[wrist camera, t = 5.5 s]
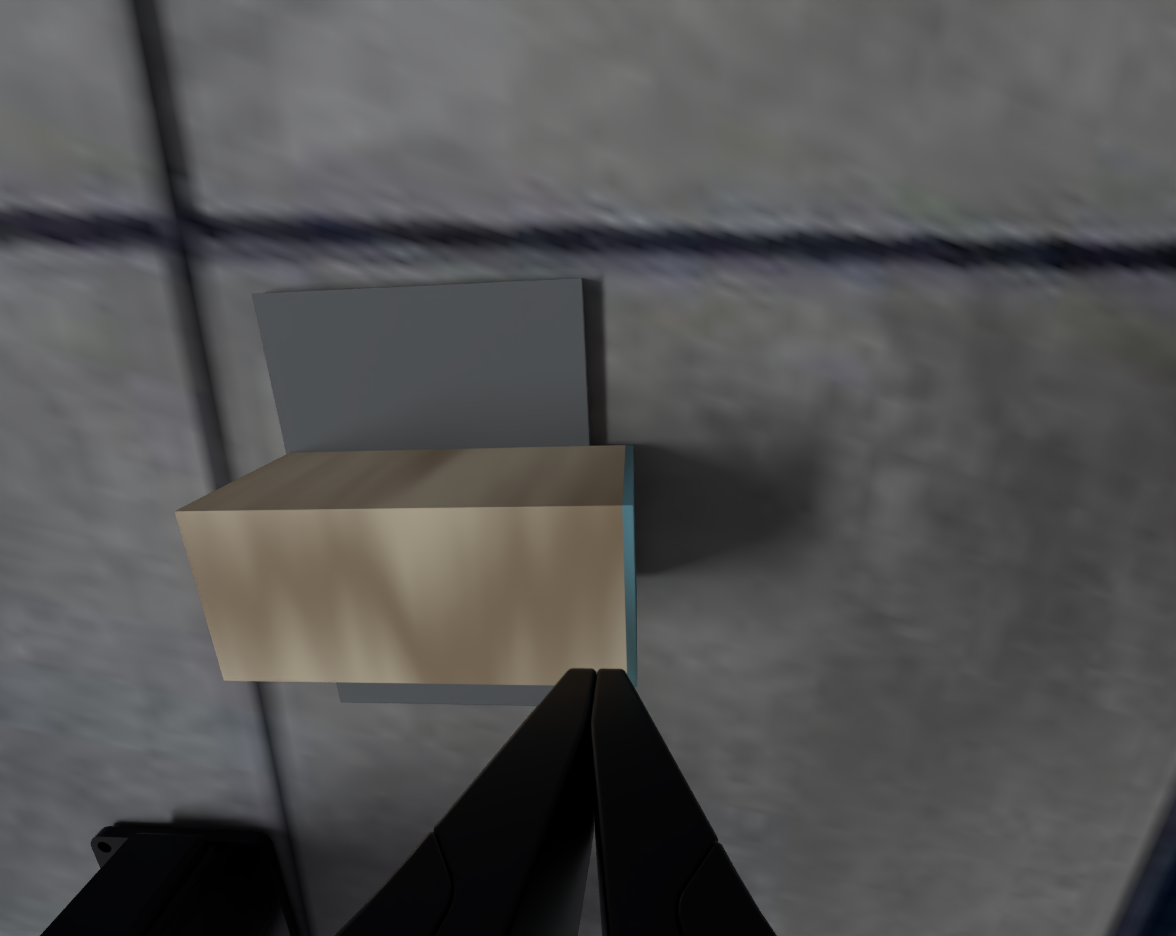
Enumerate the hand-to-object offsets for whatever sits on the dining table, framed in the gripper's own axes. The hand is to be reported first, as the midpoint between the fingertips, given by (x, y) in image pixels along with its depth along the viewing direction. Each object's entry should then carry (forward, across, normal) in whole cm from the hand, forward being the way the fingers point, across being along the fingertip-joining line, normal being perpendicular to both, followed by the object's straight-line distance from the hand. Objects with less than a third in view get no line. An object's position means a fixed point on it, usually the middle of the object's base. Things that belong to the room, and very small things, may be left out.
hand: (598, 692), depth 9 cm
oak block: (+5, -1, 0) cm, 5 cm away
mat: (+7, +5, 0) cm, 8 cm away
